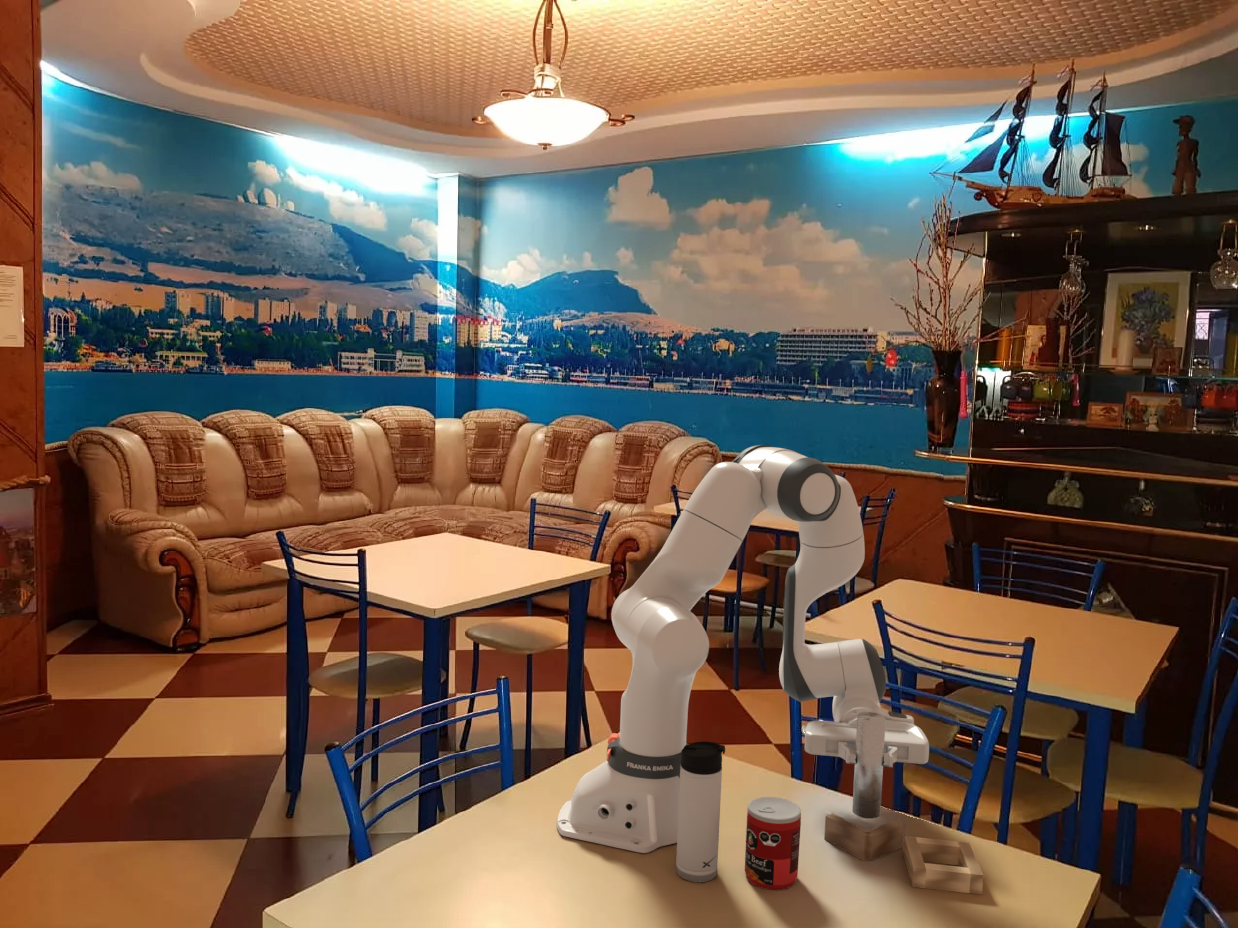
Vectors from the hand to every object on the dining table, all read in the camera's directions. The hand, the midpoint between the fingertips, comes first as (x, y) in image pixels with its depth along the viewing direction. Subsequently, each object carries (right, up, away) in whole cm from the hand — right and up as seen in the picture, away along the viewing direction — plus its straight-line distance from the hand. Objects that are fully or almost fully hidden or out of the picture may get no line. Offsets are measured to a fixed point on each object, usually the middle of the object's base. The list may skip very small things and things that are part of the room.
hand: (869, 760), depth 151 cm
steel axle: (0, -9, +2) cm, 9 cm away
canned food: (-17, -15, -9) cm, 25 cm away
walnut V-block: (-1, -14, 0) cm, 14 cm away
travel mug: (-28, -14, -8) cm, 33 cm away
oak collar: (+9, -15, -6) cm, 19 cm away
